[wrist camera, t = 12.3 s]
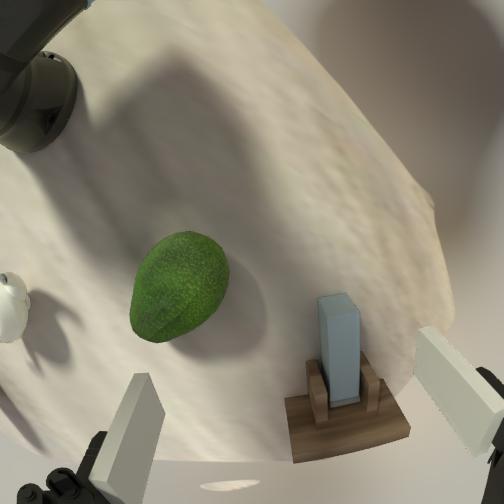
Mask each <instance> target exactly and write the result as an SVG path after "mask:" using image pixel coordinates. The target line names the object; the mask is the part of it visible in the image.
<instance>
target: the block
mask: <svg viewBox="0 0 504 504" xmlns="http://www.w3.org/2000/svg"><path fill="white" fill-rule="evenodd" d="M317 301H318V314H319V328H320V343H321V360H322V379H323V382H324V385H325V388H326V391H327V399H328V402H329V405H330V408H332V407H337V406H342V405H347V404H351V403H356V402H360V396H359V375H360V311H359V309H358V308H357V307H356V305H355V304H354V303H353V301H352V300H351V299H350V297H349V296H348V295H347V294H346V293H343V294H337V295H332V296H326V297H320V298H317Z"/></svg>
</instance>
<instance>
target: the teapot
mask: <svg viewBox="0 0 504 504" xmlns="http://www.w3.org/2000/svg"><path fill="white" fill-rule="evenodd" d="M30 306H31V301H30V297H29V295H28V293H27V288H26V285H25V283H24V281H23V280H22V279H21V278H20V277H19V276H18V275H16V274H14V273H12V272H1V273H0V343H12V342H15V341H16V340H18V339H19V338H20V337H21V335H22V334H23V332H24V330H25V328H26V325H27V321H28V311H29V309H30Z"/></svg>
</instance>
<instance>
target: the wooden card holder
mask: <svg viewBox="0 0 504 504" xmlns="http://www.w3.org/2000/svg"><path fill="white" fill-rule="evenodd" d="M306 369H307V381H308V394H309V395H303V396H297V397H290V398H285V406H286V413H287V420H288V427H289V434H290V441H291V448H292V456H293V463H301V462H307V461H313V460H319V459H324V458H329V457H334V456H339V455H343V454H348V453H352V452H356V451H360V450H364V449H368V448H372V447H375V446H379V445H383V444H386V443H390V442H393V441H396V440H400V439H403V438H406V437H409V433H410V429H411V427H410V425H409V423H408V421H407V420H406V418H405V416H404V414H403V413H402V411H401V409H400V407H399V406H398V404H397V402H396V400H395V399H394V397H393V395H392V393H391V392H390V390H389V388H388V387H387V385H386V383H385V382H384V380H383V379H380V380H379V379H378V377H377V376H376V374H375V372H374V370H373V369H372V367H371V365H370V364H369V362H368V360H367V358H366V357H365V355H364V353H363V352H362V351H360V375H359V396H360V402H356V403H351V404H347V405H342V406H337V407H332V408H330V405H329V402H328V399H327V391H326V388H325V385H324V382H323V379H322V376H321V373H320V370H319V367H318V364H317V361H316V360H311V361H306Z"/></svg>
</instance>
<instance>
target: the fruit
mask: <svg viewBox="0 0 504 504" xmlns="http://www.w3.org/2000/svg"><path fill="white" fill-rule="evenodd" d="M228 279H229V267H228V263H227V259H226V257H225V254H224V252H223V250H222V248H221V247H220V246H219V245H218V244H217V243H216V242H215V241H214V240H212V239H210V238H209V237H207V236H204V235H201V234H198V233H195V232H191V231H187V232H180V233H175V234H173V235H171V236H169V237H167V238H164V239H163V240H162V241H161V242H160V243H159V244H157V245H156V246H155V247H154V248H153V249H152V250H151V252H150V253H149V254H148V255H147V257H146V258H145V259H144V261H143V262H142V263H141V265H140V268H139V270H138V273H137V276H136V279H135V285H134V290H133V296H132V302H131V308H130V314H129V315H130V323H131V326H132V329H133V331H134V332H135V333H136V334H137V335H138V336H139V337H140V338H142V339H145V340H147V341H150V342H154V343H161V342H167V341H169V340H172V339H174V338H176V337H178V336H181V335H183V334H186V333H188V332H190V331H191V330H193V329H195V328H196V327H198V326H199V325H201V324H202V323H203V322H204V321H206V320H207V319H208V318H209V317H210V316H211V315H212V314H213V313H214V312H215V311H216V310H217V308H218V306H219V305H220V303H221V301H222V299H223V298H224V295H225V292H226V288H227V285H228Z"/></svg>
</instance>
